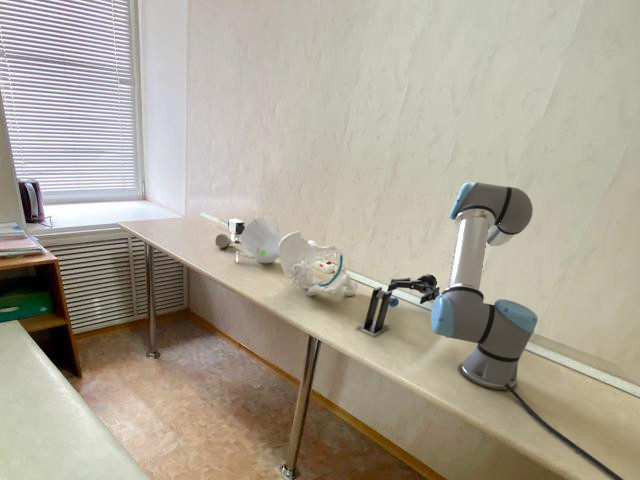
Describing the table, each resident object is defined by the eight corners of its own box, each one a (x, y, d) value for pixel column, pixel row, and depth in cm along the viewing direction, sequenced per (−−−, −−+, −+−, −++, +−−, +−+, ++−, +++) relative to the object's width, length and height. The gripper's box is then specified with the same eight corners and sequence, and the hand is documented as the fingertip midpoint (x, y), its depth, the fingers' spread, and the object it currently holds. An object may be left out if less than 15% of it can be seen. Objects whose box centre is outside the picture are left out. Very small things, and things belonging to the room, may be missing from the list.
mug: (234, 245, 222) (235, 231, 213) (224, 256, 217) (224, 243, 209) (222, 239, 223) (223, 225, 214) (212, 250, 219) (212, 236, 210)
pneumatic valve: (236, 244, 223) (237, 221, 217) (226, 238, 231) (227, 215, 225) (245, 243, 226) (247, 221, 219) (235, 237, 234) (236, 215, 227)
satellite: (270, 236, 179) (305, 233, 196) (243, 208, 185) (279, 208, 202) (249, 277, 194) (283, 271, 211) (224, 250, 200) (259, 246, 217)
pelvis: (384, 263, 168) (350, 286, 149) (352, 301, 185) (318, 326, 166) (322, 207, 174) (282, 223, 155) (297, 250, 191) (258, 268, 172)
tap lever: (388, 305, 156) (392, 296, 155) (397, 309, 154) (401, 300, 153) (373, 297, 142) (377, 287, 142) (382, 301, 140) (387, 291, 140)
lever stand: (371, 321, 154) (381, 284, 146) (388, 328, 150) (399, 290, 143) (356, 329, 148) (366, 290, 140) (374, 336, 144) (385, 297, 136)
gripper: (454, 301, 166) (433, 315, 153) (398, 282, 180) (373, 293, 166) (461, 283, 162) (439, 296, 149) (403, 265, 176) (378, 275, 162)
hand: (404, 294), depth 158 cm, fingers open, 13 cm apart
